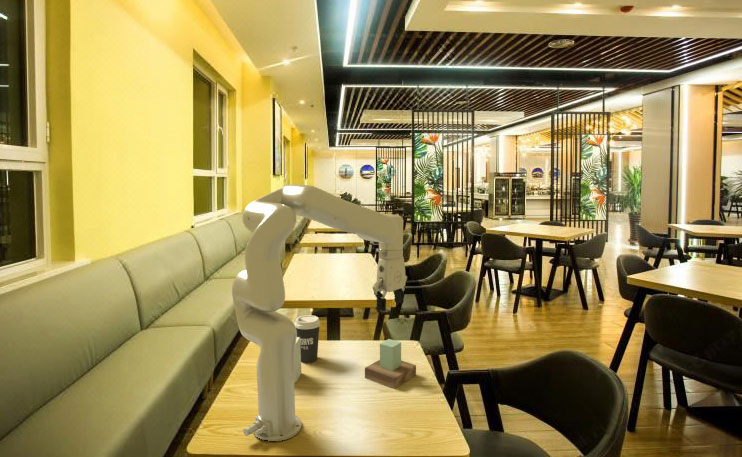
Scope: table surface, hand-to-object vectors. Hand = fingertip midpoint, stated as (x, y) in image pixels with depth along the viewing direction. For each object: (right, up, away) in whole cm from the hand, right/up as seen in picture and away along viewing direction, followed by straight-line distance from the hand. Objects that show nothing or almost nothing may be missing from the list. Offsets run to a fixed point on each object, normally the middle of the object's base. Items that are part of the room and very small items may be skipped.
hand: (390, 306), depth 153 cm
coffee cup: (-29, -22, +17) cm, 40 cm away
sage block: (0, -20, +3) cm, 20 cm away
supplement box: (-33, -24, +3) cm, 41 cm away
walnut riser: (0, -24, +4) cm, 25 cm away
